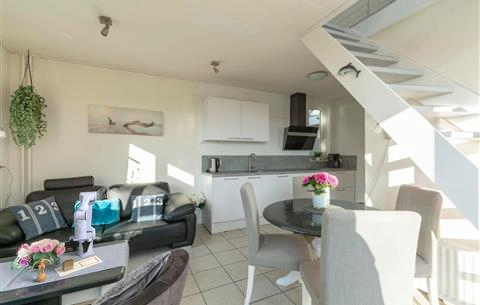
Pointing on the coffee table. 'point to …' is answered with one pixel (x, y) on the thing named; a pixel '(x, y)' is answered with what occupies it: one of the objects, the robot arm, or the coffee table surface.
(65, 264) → the stained block
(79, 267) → the card
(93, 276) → the coffee table surface
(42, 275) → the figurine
